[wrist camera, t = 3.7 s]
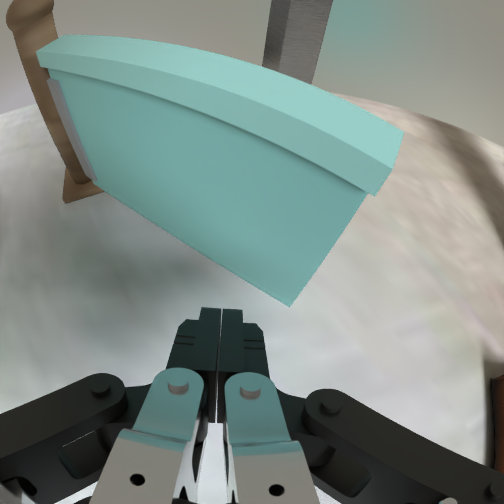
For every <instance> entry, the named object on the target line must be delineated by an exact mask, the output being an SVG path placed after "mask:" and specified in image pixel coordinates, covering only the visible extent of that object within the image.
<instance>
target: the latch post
mask: <svg viewBox="0 0 504 504" xmlns="http://www.w3.org/2000/svg"><path fill="white" fill-rule="evenodd" d="M332 2H333V0H272V1H271V8H270V15H269V22H268V28H267V36H266V43H265V50H264V57H263V64H262V67H264V68H267V69H270V70H273V71H276V72H279V73H282V74H284V75H287V76H290V77H292V78H295V79H298V80H300V81H303V82H305V83H308V84H310V85H311V83H312V79H313V76H314V72H315V68H316V64H317V61H318V57H319V53H320V49H321V45H322V41H323V37H324V33H325V30H326V26H327V22H328V18H329V14H330V10H331V6H332Z"/></svg>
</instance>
